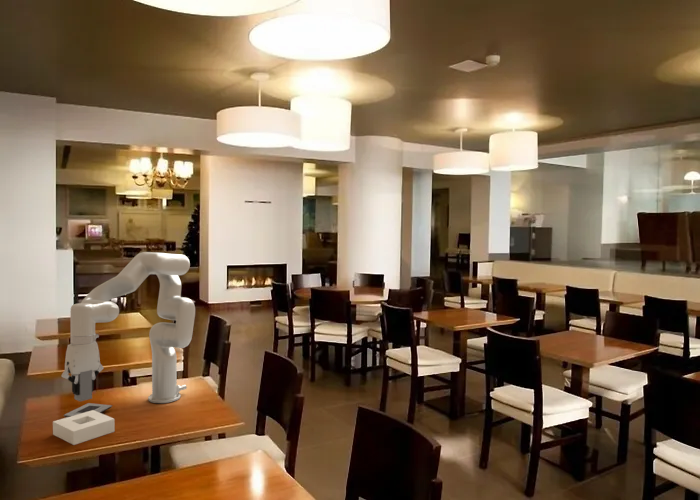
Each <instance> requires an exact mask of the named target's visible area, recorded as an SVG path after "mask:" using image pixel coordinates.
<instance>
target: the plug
mask: <svg viewBox="0 0 700 500" xmlns="http://www.w3.org/2000/svg"><path fill="white" fill-rule="evenodd" d="M78 383H79V389H80V394H79V395H75V394H73V395H74V397H73V399H74V400H76V401H77V402H84V401H88V400H92V399H93V392H92V370H89V371H85V372H80V374H79V379H78Z"/></svg>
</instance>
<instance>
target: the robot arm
mask: <svg viewBox="0 0 700 500" xmlns="http://www.w3.org/2000/svg"><path fill="white" fill-rule="evenodd" d="M190 266H191V263H190V259H189V258H188V256H186V255H185V254H179V253H165V252H156V251H155V252H154V251H153V252H151V251H143V252H139V253H138V254H136V255H135V256H134V257H133V258H132V259H131V260H130V261H129V262H128V264H127V265H125V267H124V268H123V269H122V270H121V271H120V272H119V273H118V274H117V275H116V276H114V277H111V278H110V279H108V280H107V281H104V282H103V283H101V284H99V285H98V286H96V287H94V288H93V289H92V290H91V291H89V293H87V295H86V296H85V297H84V298H83V299H82V300H81V302H79V303H78V302H77V303H75V304H73V305H71V306H70V344H67V348H66V351H65V358H64V359H65V361H64V370H63V372H62V374H61V378H63V379H66V380H68V381H69V382H70V383H71V391H72V394H73V395H74V394H75V395H79V394H80V389H79V383H78V379H79V374H80V372H85V371H89V370H92V393H93V392H94V388H95V380H96V378H97V376H99V374H100V373H101V372H102V371H103V370H104V366H103V364H101V361H100V360H101V359H100V350H99V345H98V342H97V338H98V339H99V337H100V335H99V334H98V333H96V323H110V322H112V321H114V320H116V318H117V317H118V316H119V314H120V308H119V306H118V305H117V303H116V302H114V301H111V300H112V299H115V298H117V297H121V296H126V295H129V294H131V293H133V292H136V290H137V289H138V288H139V287H140V286H141V284H142V283H144V281H145V280H146V279H147V278H148V277H149V276H150V275H156V276H157V278H158V282H159V291H158V299H157V307H156V314H157V316H158V317H159V318H161V319H165V320H170V321H175V323H173V322H164V321H163V322H161V321H160V322H157V323H155V324H153V325H152V326H151V328H150V329H149V335H148V336H149V342H150V343H149V344H150V347H151V348H150V349H151V379H152V381H151V383H152V386H151V391H152V392H151V394H149V395H148V398H147V400H148V402H150V403H153V404H168V403H172V402H176V401H178V400H180V398H181V393H180V392H181V391H184V390H187V388H188V387H187V385H186V384H182V385H180V384H177V382H178V381H177V376H178V375H177V372H178V371H177V370H178V369H177V364H178V363H177V362H178V361H177V359H178V357H177V351H176V349H184V348H186V347H188V346H189V345H190V343H191V341H192V337H193V333H194V332H193V331H194V325H195V317H196V306H195V303H194V301H193V300H192V299H190V298H189V297H183V296H182V281H181V279H180V276H184V275H185V274H186V273H188V272H189V269H190ZM69 374H70V375H71V376H70V375H69Z"/></svg>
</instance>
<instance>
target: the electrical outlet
mask: <svg viewBox="0 0 700 500" xmlns="http://www.w3.org/2000/svg"><path fill="white" fill-rule="evenodd" d="M112 407H113V405H111V404H100V403H91V402H88V403H86V404H84V405H82V406H80V407H77V408H75V409H73V410H71V411H69V412H67V413H65V414H63V417H64V418H67V417H71V416H74V415H78V414H81V413H85V412H88V411H92V410H94V411H97V412H99V413H102V414H103V412H105V411H107V410H109V409H111V408H112Z"/></svg>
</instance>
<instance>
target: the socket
mask: <svg viewBox="0 0 700 500" xmlns="http://www.w3.org/2000/svg"><path fill="white" fill-rule="evenodd" d="M115 426H116V425H115V418H113V417H112V416H109V415H107V414H104V413H103V412H102V413H99V412H97V411H94V410H92V411H88V412H85V413H81V414H78V415H74V416H71V417H64V418H60V419H57V420H56V419H55V420H53V421H52V435H53V436H55V437H57V438H59V439H61V440H63V441H65V442H67V443H69V444H71V445H73V446H75V445H78V444H81V443H84V442H87V441H90V440H93V439H97V438H99V437H102V436H105V435H108V434H112V433H114V432H115Z"/></svg>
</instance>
